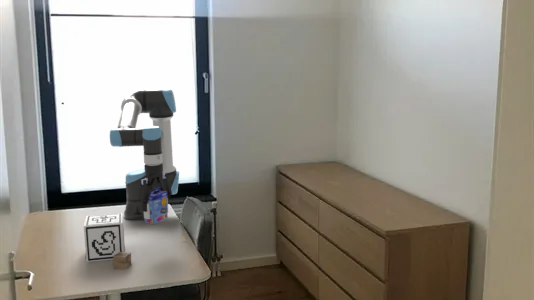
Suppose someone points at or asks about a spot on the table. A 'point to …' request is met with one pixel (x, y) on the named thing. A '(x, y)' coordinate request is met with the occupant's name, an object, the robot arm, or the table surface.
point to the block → (103, 236)
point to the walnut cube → (122, 260)
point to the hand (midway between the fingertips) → (156, 215)
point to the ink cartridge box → (157, 206)
